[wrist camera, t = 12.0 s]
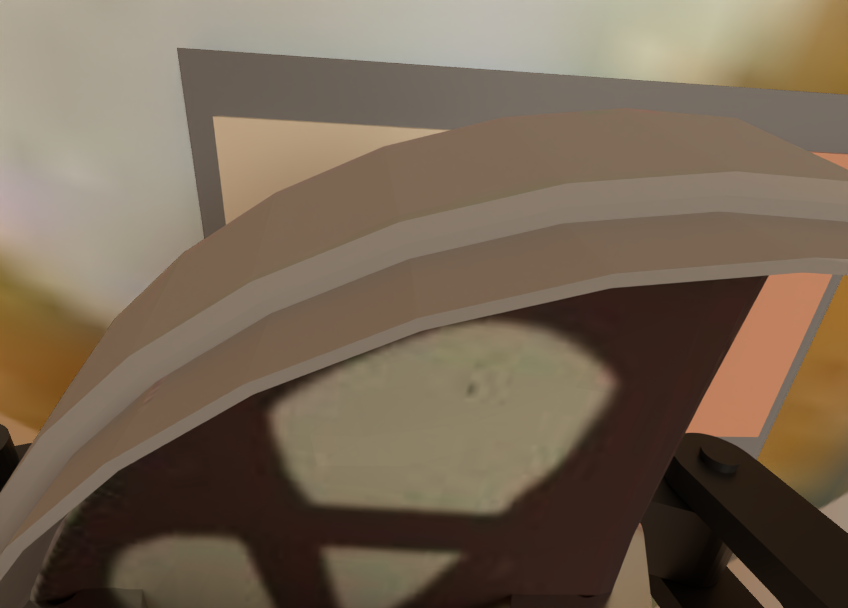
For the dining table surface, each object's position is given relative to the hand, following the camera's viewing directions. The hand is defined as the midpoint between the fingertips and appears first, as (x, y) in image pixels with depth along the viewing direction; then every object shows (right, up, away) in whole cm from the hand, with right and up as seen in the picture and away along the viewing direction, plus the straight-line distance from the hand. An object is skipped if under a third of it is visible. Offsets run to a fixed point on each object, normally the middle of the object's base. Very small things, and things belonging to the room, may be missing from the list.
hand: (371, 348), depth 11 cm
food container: (-1, +1, +2) cm, 2 cm away
